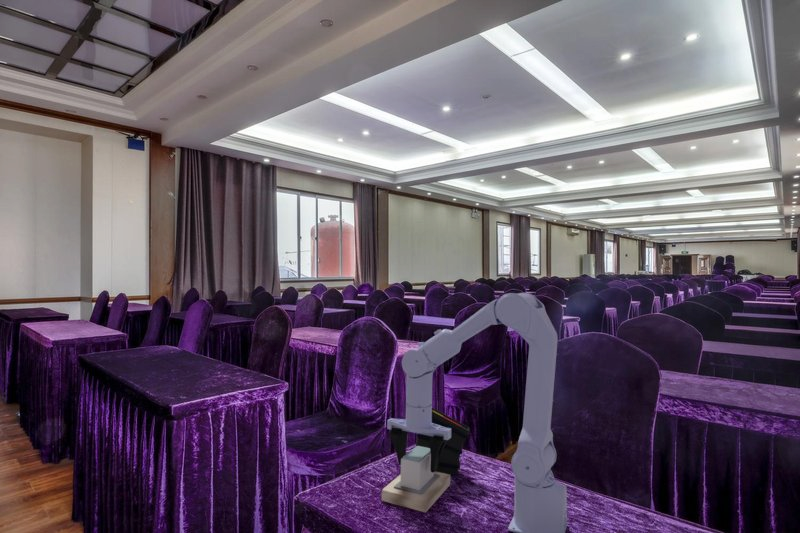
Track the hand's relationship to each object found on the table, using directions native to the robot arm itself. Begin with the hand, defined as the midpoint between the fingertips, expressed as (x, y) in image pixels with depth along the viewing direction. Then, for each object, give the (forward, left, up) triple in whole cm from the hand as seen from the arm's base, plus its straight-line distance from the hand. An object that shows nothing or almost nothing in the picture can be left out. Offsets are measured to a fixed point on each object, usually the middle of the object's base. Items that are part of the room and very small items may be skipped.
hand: (417, 467), depth 98 cm
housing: (0, 0, -3) cm, 3 cm away
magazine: (0, -13, -6) cm, 14 cm away
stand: (0, 0, -5) cm, 5 cm away
